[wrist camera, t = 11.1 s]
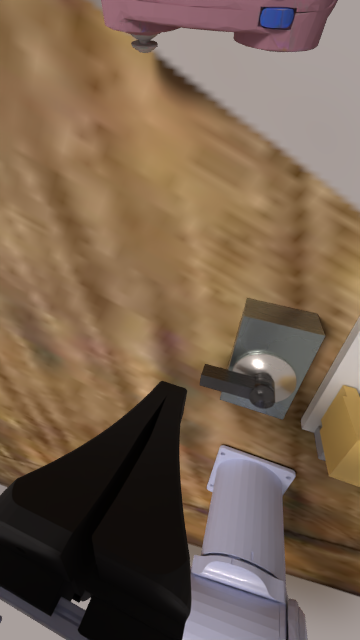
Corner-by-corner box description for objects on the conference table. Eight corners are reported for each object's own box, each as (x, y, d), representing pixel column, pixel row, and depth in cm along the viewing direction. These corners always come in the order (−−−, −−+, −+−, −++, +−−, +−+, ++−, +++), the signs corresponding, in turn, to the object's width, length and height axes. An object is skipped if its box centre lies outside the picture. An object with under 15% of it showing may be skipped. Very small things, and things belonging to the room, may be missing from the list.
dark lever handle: (277, 377, 17) (278, 394, 15) (271, 394, 18) (271, 411, 16) (206, 359, 18) (201, 373, 17) (203, 375, 19) (198, 390, 17)
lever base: (281, 392, 22) (282, 422, 19) (225, 375, 23) (219, 402, 20) (317, 313, 17) (326, 338, 15) (246, 297, 18) (242, 317, 16)
